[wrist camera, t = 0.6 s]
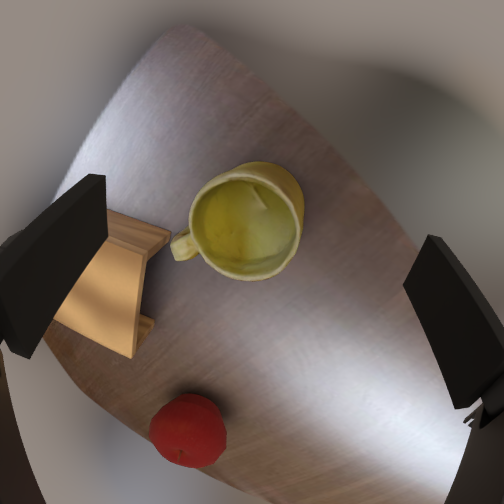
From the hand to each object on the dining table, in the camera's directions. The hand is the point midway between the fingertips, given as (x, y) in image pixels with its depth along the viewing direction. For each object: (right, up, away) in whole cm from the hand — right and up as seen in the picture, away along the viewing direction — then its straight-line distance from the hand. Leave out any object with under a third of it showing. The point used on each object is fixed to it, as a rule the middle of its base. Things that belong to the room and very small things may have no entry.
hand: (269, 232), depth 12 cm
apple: (-9, -24, +33) cm, 41 cm away
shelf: (-17, -3, +25) cm, 31 cm away
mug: (-1, +4, +20) cm, 21 cm away
